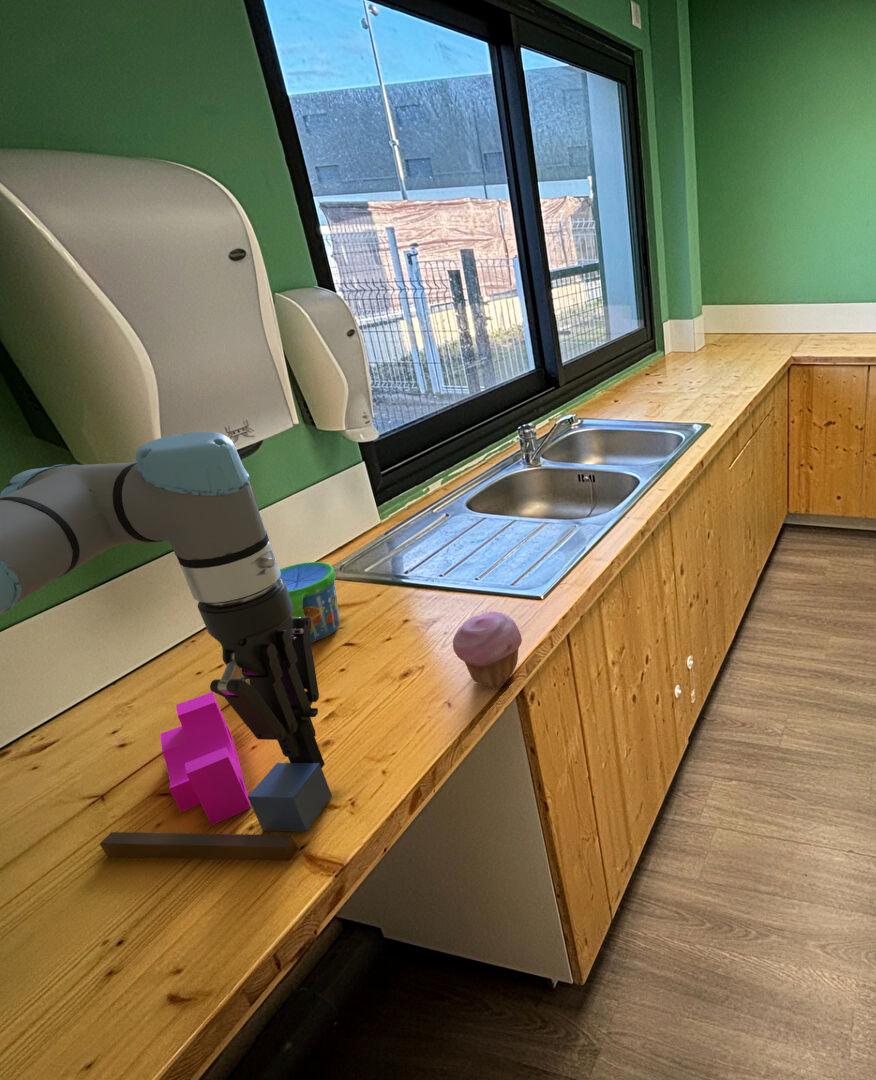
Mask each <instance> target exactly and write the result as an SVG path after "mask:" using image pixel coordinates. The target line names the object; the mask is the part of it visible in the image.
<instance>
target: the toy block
mask: <svg viewBox="0 0 876 1080" xmlns="http://www.w3.org/2000/svg"><path fill="white" fill-rule="evenodd" d="M175 707H176V714H177V718H178V720H179V723H180V726H177V727H175V728H172V729H169V730H167V731H164V732H161V733H159V735H160V745H161V746H160V747H161V752H162V755H163V757H164V762H165V765H166V769H167V773H168V779H169V788H168V790H169V792H170V794H171V796H172V798H173V799H174V801H175V804H176V805H177V807H178V809H179V812H180V813H182V812H184V811H187V810H190V809H191V808H195V807H196V806H199V805H201V806H202V807H201V808H202V809H203V811H204V813H205V815H206V817H207V819H208V821H209V823H210V825H211V826H214V825H216V824H219V823H221V822H223V821H225V820H227V819H229V818H232V817H235V816H237V815H238V814H241V813H244V812H245V811H248V810H250V809H252V805H251V803H250V801H249V799H248V796H249V794H248V790H247V787H246V783H245V778H244V776H243V772H242V767H241V763H240V760H239V755H238V751H237V747H236V744H235V740H234V738H233V735H232V732H231V730H230V728H229V726H228V723H227V721H226V718H225V716H224V714H223V712H222V709H221V708H220V705H219V703H218V701H217V698H216V696H215V693H214V692H212V691H211V692H208V693H205V694H203V695H200V696H197V697H195V698H191V699H188V700H185V701H183V702H180V703H178V704H175Z"/></svg>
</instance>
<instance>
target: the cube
mask: <svg viewBox="0 0 876 1080" xmlns="http://www.w3.org/2000/svg"><path fill="white" fill-rule="evenodd" d="M332 798H333V795H332V791H331V790H330V787H329V784H328V781H327V779H326V776H325V773H324V771H323V767H322V768H321V766H320V763H290V762H276V763H275V765H274V766H273V767H272V768H271V769H270V770H269V771H268V773H267V774H266V775H265V776H264V777H263V779H262V780H260V782H259V783H258V784H257V785H256V787H254V789H253V790H252V791H251V792H250V793H249V794H248V799H249V802H250V806H251V809H252V810H253V812H254V814H255V816H256V819H257V821H258V823H259V825H260V828H261V830H262V831H264V832H266V831H267V832H308V830H309V829H310V828H311V826H312V825H313V823H314V822H315V821H316V819H317V818H318V816H319V815H320V814H321V813H322V811H323V810H324V808H325V807H326V806H327V804H328V803H329V801H330V800H331V799H332Z"/></svg>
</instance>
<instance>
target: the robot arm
mask: <svg viewBox="0 0 876 1080" xmlns="http://www.w3.org/2000/svg"><path fill="white" fill-rule="evenodd" d="M134 458H135V462H116V463H115V462H114V463H93V464H91V463H90V464H77V463H72V464H68V463H61V464H54V465H52V466H48V467H40V468H39V467H38V468H31V469H27V470H23V471H21V472H20V473H17V474H16V475H14V476H12V477H11V479H10V480H9V482H8V484H7V486H6V487H5V488H4V489H2V491H1V493H0V616H2V615H4V614H6V613H7V612H8V611H10V610H11V609H13V608H14V606H15V605H16V604H19V602H22V601H23V600H24V599H26V598H28V597H29V596H31V595H32V594H34V593H35V592H37V591H39V590H41V589H42V588H43V587H45V586H47V585H48V584H50V583H52V582H54V581H55V580H56V579H58V578H61V577H62V576H65V575H67V574H68V573H70V572H72V571H73V570H75V569H77V568H79V567H80V566H82V565H83V564H85V563H87V562H88V561H90V560H92V559H94V558H95V557H97V556H99V555H101V554H102V553H104V552H105V551H107V550H109V549H111V548H113V547H115V546H119V545H127V544H142V543H143V544H144V543H157V542H159V543H160V542H164V541H169V543H170V546H171V548H172V551H173V553H174V555H175V557H176V558H177V561H178V563H179V566H180V568H181V571H182V573H183V575H184V578H185V581H186V583H187V586H188V588H189V590H190V594H191V595H192V597H193V600H195V601H197V609H198V611H199V614H200V616H201V619H202V621H203V623H204V626H205V628H206V631H207V633H208V635H210V637H212V638H213V639H215V640H216V641H217V642H218V643H219V644H220V645H221V648H222V649H221V650H222V661H223V663H224V664H225V666H226V667H225V669H224V672H223V674H222V676H221V678H220V679H219V678H216V679H213V680H212V681H211V682H210V685H209V689H210V691H211V692H213V694H217V695H219V696H220V697H223V698H224V699H225V700H226V701H227V703H228V704H229V705H230V706H231V708H232V709H233V710H234V712H235V713H236V714H237V715H238V717H239V718H240V720H242V722H243V723H244V724H245V726H246V727H247V728H248V729H249V731H250V732H251V733H252V734H253V736H254V737H255V738H256V740H261V741H262V740H265V741H266V740H267V741H269V740H270V741H277V743H278V745H279V747H280V750H281V752H282V755H283V756H284V757H286V758H287V759H288V760H289V763H320V766H321V768H322V769H323V767H324V766H325V765H326V763H325V760H324V758H323V756H322V752H321V749H320V747H319V744H318V742H317V739H316V735H317V733H316V730H315V726H314V724H313V721H312V718H315V717H317V716H318V713H319V708H318V707H311V706H312V705H313V703H317V702H318V701H319V699H320V692H319V686H318V679H317V672H316V667H315V659H314V653H313V647H312V643H311V640H310V633H311V618H310V617H292V616H291V614H292V612H293V604H292V601H291V598H290V596H289V593H288V590H287V587H286V584H285V582H284V580H283V579H281V578H279V577H280V575H281V572H280V569H281V568H280V567H279V564H278V562H277V559H276V555H275V553H274V550H273V547H272V545H271V542H270V538H269V536H268V532H267V530H266V528H265V525H264V522H263V520H262V519H263V518H262V517H261V513H260V511H259V510H260V509H259V506H258V504H257V501H256V499H255V495H254V491H253V488H252V486H251V482H250V481H251V477H250V474H249V471H247V470H246V469H245V467H244V464H243V462H242V460H241V457H240V455H239V453H238V450H237V448H236V445H235V443H234V442H233V440H232V439H231V438H229V436H227V435H224V434H223V433H219V432H215V431H192V432H188V433H182V434H172V435H167V436H163V437H160V438H157V439H153V440H151V441H148V442H146V443H144V444H142V445H140V446H139V447H138V448H137V449H136V451H135V455H134ZM296 637H297V638H296Z"/></svg>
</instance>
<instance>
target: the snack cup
mask: <svg viewBox="0 0 876 1080" xmlns="http://www.w3.org/2000/svg"><path fill="white" fill-rule="evenodd" d="M279 569H280V572H281V575H280V577H279V578H281V579H283V580H284V582H285V584H286V587H287V590H288V593H289V596H290V598H291V601H292V604H293V612H292V614H291V616H292V617H310V618H311V633H310V640H311V644H313V643H315V642H317V641H319V640H322V639H325V638H326V637H328V636H330V635H331V634H333V633H336V632H337V630H338V628H339V626H340V612H339V611H340V610H339V604H338V597H337V589H336V584H335V581H336V576H337V575H336V571H335V568H334V566H332V565H331V564H330V563H328V562H322V561H310V562H302V563H296V564H292V565H288V566H286V567H283V568H279ZM296 638H297V637H296Z"/></svg>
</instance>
